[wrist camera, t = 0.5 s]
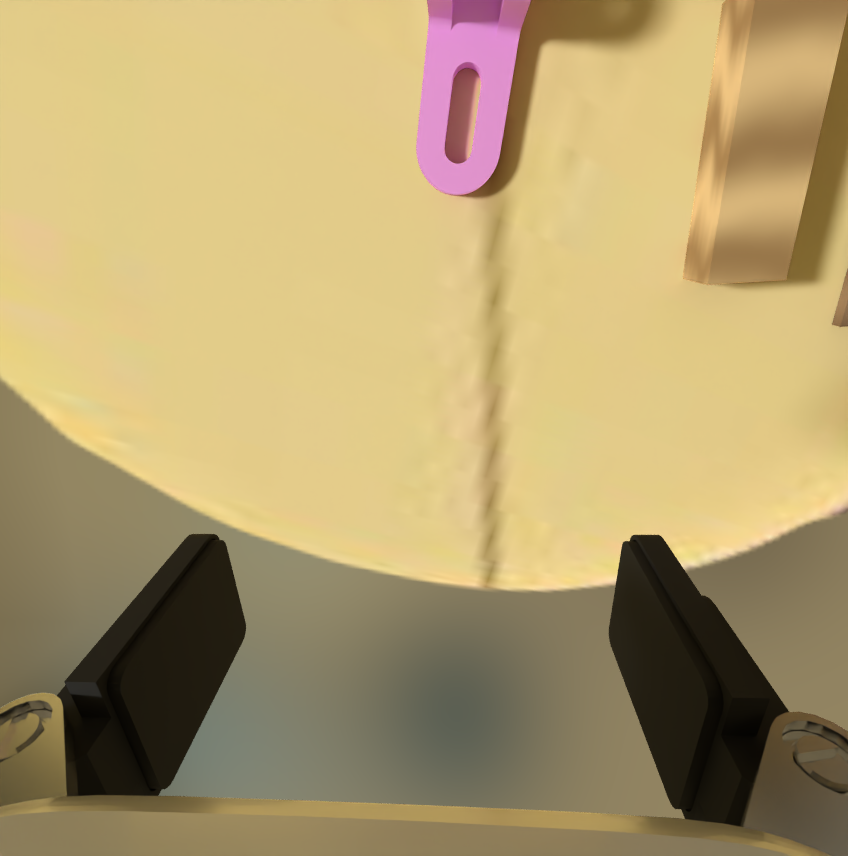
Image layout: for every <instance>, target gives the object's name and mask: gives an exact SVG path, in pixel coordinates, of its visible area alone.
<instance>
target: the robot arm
mask: <svg viewBox="0 0 848 856" xmlns="http://www.w3.org/2000/svg"><path fill="white" fill-rule="evenodd" d="M245 631H246V623H245V619H244V615H243V611H242V607H241V603H240V599H239V595H238V591H237V587H236V582H235V579H234V575H233V570H232V566H231V562H230V558H229V554H228V551H227V546H226V544H225V542H224V541H223V540H219V537H218V536H217V535H215V534H191V535H189V536H188V537H187V538H186V539H185V540H184V541H183V542H182V544H181V545H180V546H179V547H178V548H177V549H176V551H175V552H174V553H173V554H172V555H171V556H170V558H169V559H168V560H167V561H166V562H165V564H164V565H163V566H162V567H161V568H160V569H159V571H158V572H157V573H156V574H155V575H154V576H153V578H152V579H151V580H150V581H149V582H148V584H147V585H146V586H145V587H144V588H143V590H142V591H141V592H140V593H139V594H138V595H137V597H136V598H135V599H134V600H133V601H132V602H131V604H130V605H129V606H128V607H127V609H126V610H125V611H124V612H123V613H122V614H121V615H120V617H119V618H118V619H117V620H116V621H115V623H114V624H113V625H112V626H111V627H110V628H109V630H108V631H107V632H106V633H105V634H104V635H103V637H102V638H101V639H100V640H99V641H98V643H97V644H96V645H95V646H94V647H93V648H92V650H91V651H90V652H89V653H88V654H87V656H86V657H85V658H84V659H83V660H82V661H81V663H80V664H79V665H78V666H77V667H76V669H75V670H74V671H73V672H72V673H71V674H70V676H69V677H68V678H67V679H66V680H65V684H66V685H65V687H64V688H63V689H62V690H61V692H60V693H59V694H58V695H57V696H56V695H54V694H51V693H37V694H31V695H27V696H25V697H22V698H19V699H17V700H14V701H12V702H10V703H8V704H6V705H5V706H3V707H1V708H0V856H848V731H847V730H845V729H843V728H842V727H840V726H838V725H837V724H835V723H833V722H831V721H829V720H826V719H824V718H821V717H819V716H816V715H813V714H808V713H803V712H789V711H788V709H787V708H786V707H785V705H784V704H783V702H782V701H781V699H780V698H779V697H778V695H777V694H776V692H775V691H774V689H773V688H772V686H771V685H770V683H769V682H768V681H767V679H766V678H765V676H764V675H763V673H762V672H761V670H760V669H759V667H758V666H757V665H756V663H755V662H754V660H753V659H752V657H751V656H750V654H749V653H748V652H747V650H746V649H745V647H744V646H743V645H742V643H741V642H740V640H739V639H738V637H737V636H736V634H735V633H734V632H733V630H732V628H731V627H730V626H729V624H728V623H727V621H726V620H725V618H724V617H723V615H722V614H721V613H720V611H719V610H718V608H717V607H716V605H715V604H714V603H713V602H712V601H711V599H709V598H708V597H706V596H701V594H700V593H699V591H698V590H697V588H696V587H695V585H694V584H693V582H692V581H691V580H690V578H689V576H688V575H687V573H686V572H685V570H684V569H683V567H682V566H681V564H680V563H679V561H678V560H677V558H676V557H675V555H674V554H673V552H672V551H671V549H670V548H669V547H668V545H667V544H666V542H665V541H664V539H663V538H662V537H661V536H660V535H633V536H632V537H631V539H630V541H625V542H623V544H622V549H621V556H620V562H619V568H618V575H617V581H616V588H615V594H614V601H613V606H612V613H611V619H610V625H609V639H610V644H611V647H612V650H613V653H614V655H615V658H616V661H617V663H618V666H619V669H620V671H621V674H622V676H623V679H624V682H625V685H626V687H627V690H628V692H629V695H630V698H631V700H632V703H633V706H634V708H635V711H636V714H637V716H638V719H639V721H640V724H641V727H642V730H643V732H644V735H645V737H646V740H647V743H648V745H649V748H650V751H651V754H652V756H653V759H654V761H655V764H656V767H657V769H658V772H659V775H660V777H661V780H662V783H663V785H664V788H665V791H666V793H667V796H668V798H669V801H670V803H671V805H672V806H673V807H674V808H675V809H682V812H683V814H684V817H685V819H679V818H665V817H649V816H634V815H619V814H602V813H588V812H566V811H565V812H564V811H543V810H521V809H499V808H477V807H476V808H475V807H456V806H454V807H453V806H430V805H406V804H382V803H381V804H380V803H354V802H330V801H329V802H328V801H303V800H275V799H244V798H215V797H214V798H212V797H185V796H183V797H181V796H158V795H159V793H160V791H161V790H162V789H166V788H167V787H168V786H169V785H170V784H171V782H172V781H173V779H174V777H175V775H176V773H177V771H178V769H179V767H180V765H181V763H182V761H183V759H184V757H185V755H186V753H187V751H188V749H189V747H190V745H191V743H192V741H193V739H194V737H195V735H196V733H197V731H198V729H199V727H200V725H201V723H202V721H203V719H204V717H205V715H206V713H207V711H208V709H209V708H210V705H211V703H212V702H213V700H214V698H215V695H216V694H217V692H218V690H219V687H220V685H221V684H222V682H223V680H224V677H225V676H226V673H227V672H228V670H229V668H230V665H231V663H232V662H233V660H234V657H235V655H236V654H237V652H238V650H239V647H240V646H241V644H242V642H243V639H244V637H245Z"/></svg>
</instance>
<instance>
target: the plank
mask: <svg viewBox="0 0 848 856" xmlns="http://www.w3.org/2000/svg"><path fill="white" fill-rule="evenodd" d="M847 14H848V0H726V1H725V2H724V3H723V4H722V11H721V18H720V25H719V32H718V39H717V46H716V52H715V59H714V66H713V73H712V80H711V87H710V94H709V101H708V107H707V114H706V121H705V128H704V135H703V142H702V149H701V156H700V162H699V169H698V176H697V183H696V190H695V197H694V204H693V211H692V217H691V224H690V231H689V238H688V245H687V252H686V259H685V266H684V272H683V279H686V280H690V281H694V282H698V283H702V284H706V285H713V284H730V283H746V282H762V281H779V280H786V279H787V274H788V270H789V266H790V261H791V257H792V253H793V248H794V244H795V240H796V235H797V231H798V227H799V222H800V218H801V214H802V209H803V205H804V201H805V196H806V192H807V188H808V183H809V179H810V175H811V170H812V166H813V161H814V157H815V153H816V148H817V144H818V140H819V135H820V131H821V127H822V122H823V118H824V114H825V109H826V105H827V101H828V96H829V92H830V88H831V83H832V79H833V75H834V70H835V66H836V61H837V57H838V53H839V48H840V44H841V40H842V35H843V31H844V27H845V22H846V18H847Z"/></svg>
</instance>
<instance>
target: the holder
mask: <svg viewBox="0 0 848 856" xmlns="http://www.w3.org/2000/svg"><path fill="white" fill-rule="evenodd" d="M832 325H836V326H840V327H843V326H848V270H847V274H846V277H845V281H844V284H843V288H842V291H841V295H840V298H839V302H838V306H837V309H836V313H835V316H834V320H833V323H832Z"/></svg>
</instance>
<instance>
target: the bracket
mask: <svg viewBox="0 0 848 856" xmlns="http://www.w3.org/2000/svg"><path fill="white" fill-rule="evenodd" d="M530 2H531V0H427V3H428V12H429V25H428V35H427V45H426V55H425V65H424V75H423V85H422V95H421V104H420V114H419V124H418V134H417V145H416V150H417V159H418V163H419V166H420V168H421V171H422V173H423V174H424V176H425V178H426V179H427V180H428V182H429V183H430V184H431V185H432V186H433V187H434V188H436V189H437V190H439V191H441V192H443V193H445V194H449V195H457V196H459V195H465V194H469V193H471V192H473V191H475V190H477V189H479V188H480V187H481V186H482V185H483V184H484V183H485V182H486V181H487V180H488V179H489V178H490V176H491V175H492V173H493V172H494V170H495V168H496V166H497V163H498V160H499V156H500V151H501V145H502V139H503V133H504V127H505V120H506V114H507V108H508V102H509V96H510V90H511V84H512V78H513V72H514V66H515V60H516V54H517V48H518V42H519V36H520V31H521V28H522V25H523V22H524V19H525V16H526V14H527V11H528V8H529V5H530ZM464 68H471V69H473V70H475V71H476V72H477V73H478V75H479V77H480V80H481V90H480V97H479V104H478V111H477V118H476V125H475V132H474V139H473V145H472V152H471V155H470V157H469V158H468V159H467V160H466V161H465V162H463V163H460V164H456V163H453V162H451V161H450V160H449V159H448V158H447V157H446V155H445V142H446V134H447V126H448V118H449V110H450V102H451V94H452V85H453V80H454V77H455V75H456V74H457V73H458V72H459V71H460V70H462V69H464Z"/></svg>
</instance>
